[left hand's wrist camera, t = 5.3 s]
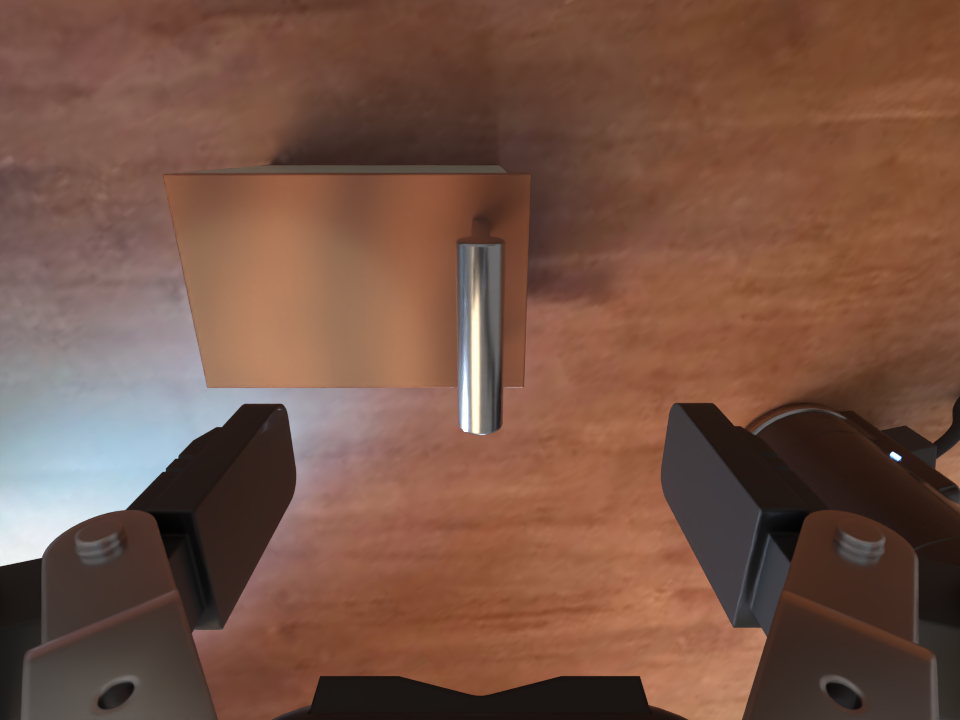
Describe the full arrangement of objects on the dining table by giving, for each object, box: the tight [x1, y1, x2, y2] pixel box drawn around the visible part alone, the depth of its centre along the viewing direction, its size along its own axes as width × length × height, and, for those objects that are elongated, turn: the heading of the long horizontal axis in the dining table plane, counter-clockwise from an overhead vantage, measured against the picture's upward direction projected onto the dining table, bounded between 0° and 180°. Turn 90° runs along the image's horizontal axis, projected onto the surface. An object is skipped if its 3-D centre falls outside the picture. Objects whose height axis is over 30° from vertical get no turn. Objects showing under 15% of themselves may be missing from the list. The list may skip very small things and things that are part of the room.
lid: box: [163, 173, 531, 435], centre depth 21 cm, size 15×10×8 cm, turn 90°
